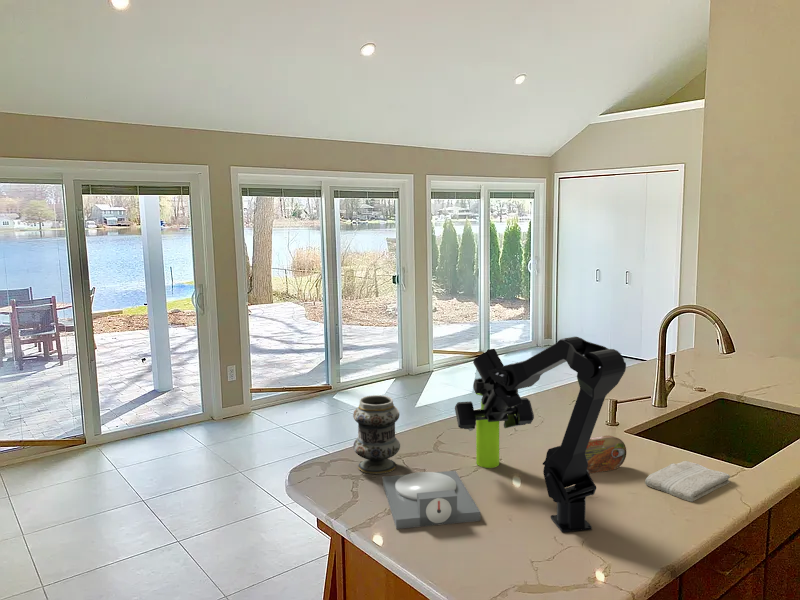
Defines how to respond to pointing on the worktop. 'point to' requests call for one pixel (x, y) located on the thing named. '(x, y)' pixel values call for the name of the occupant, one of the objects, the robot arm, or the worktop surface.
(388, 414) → the apothecary jar
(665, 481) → the washcloth
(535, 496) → the worktop surface
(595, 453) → the tin
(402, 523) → the kitchen scale
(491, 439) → the soap dispenser
